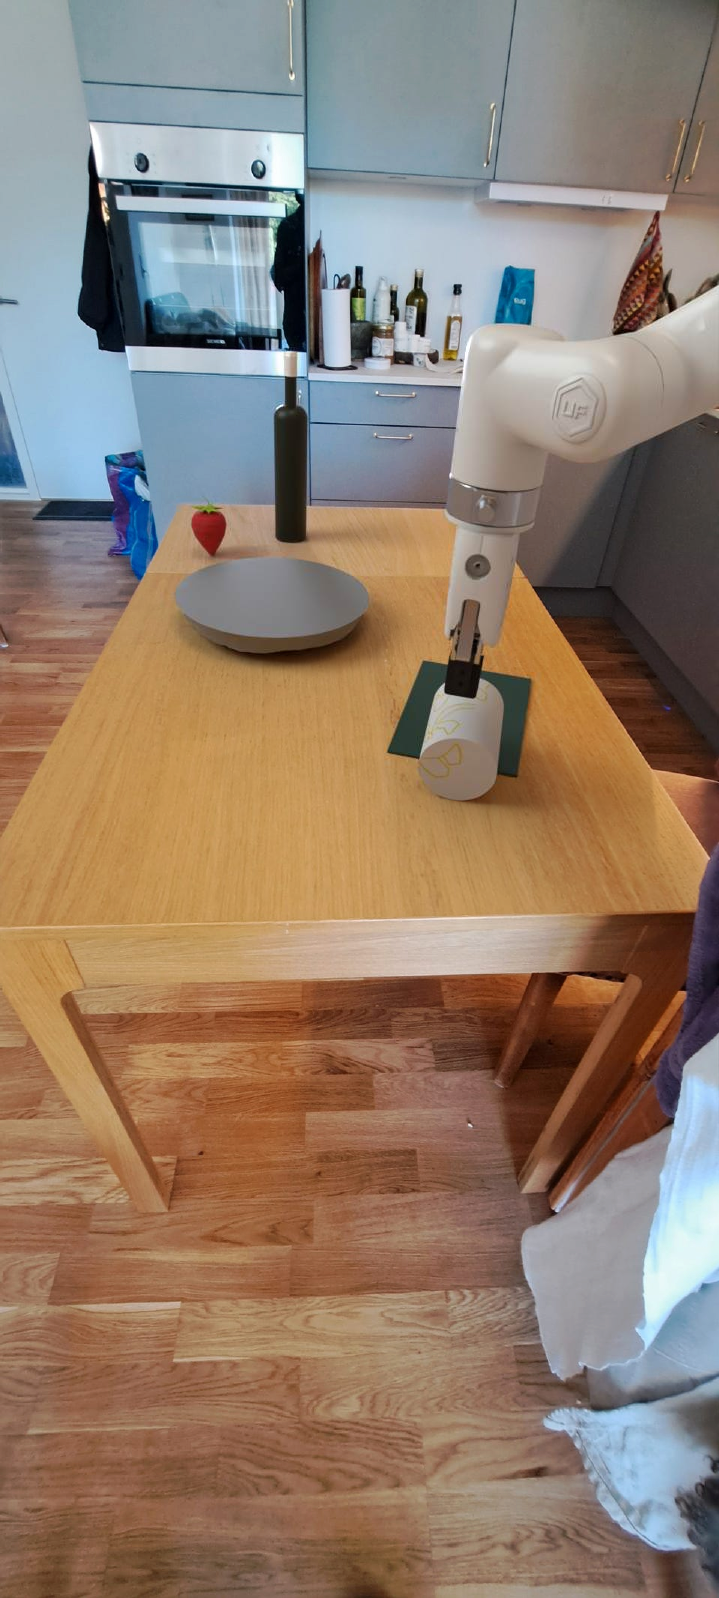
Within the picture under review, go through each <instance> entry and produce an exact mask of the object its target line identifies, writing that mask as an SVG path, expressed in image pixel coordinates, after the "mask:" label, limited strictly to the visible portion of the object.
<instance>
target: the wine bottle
mask: <svg viewBox="0 0 719 1598" xmlns="http://www.w3.org/2000/svg"><path fill="white" fill-rule="evenodd" d="M283 376H284V404H280V405H279V406H277V407H276V409H275V411H274V413H273V457H274V459H273V460H274V464H273V465H274V528H275V531H274V532H275V533H274V534H275V535H274V536H275V538H276V539H277V540H278V541H280V542H283V543H300V542H301V543H302V542H303V541H305V540H306V539H307V516H308V515H307V511H308V510H307V509H308V508H307V505H308V502H307V501H308V429H309V428H308V427H309V425H308V424H309V423H308V422H309V418H308V417H309V416H308V412H307V411H306V409H305V408H304V407H303V406H301V405H298V404H297V403H298V402H297V395H298V394H297V393H298V392H297V390H298V389H297V388H298V387H297V384H298V383H297V380H298V379H297V378H298V351H293V350H289V351H288V350H287V351H283Z"/></svg>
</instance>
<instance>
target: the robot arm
mask: <svg viewBox="0 0 719 1598" xmlns="http://www.w3.org/2000/svg"><path fill="white" fill-rule="evenodd" d="M463 362H464V363H463V370H462V376H461V386H460V392H459V393H460V394H459V401H458V408H457V417H456V423H455V424H456V425H455V433H454V439H453V440H454V441H453V449H452V451H453V452H452V458H451V466H450V473H449V482H448V487H447V494H446V495H447V497H446V504H445V510H444V511H445V513H444V517H445V518H446V520H447V521H448V522H450V523H452V525H455V526H456V532H455V538H454V545H453V553H452V559H451V560H452V561H451V567H450V573H449V574H450V575H449V582H448V589H447V600H446V610H445V619H444V630H443V631H444V632H443V635H444V637H445V638H446V639H447V641H449V642H450V641H451V640H452V644H451V650H450V653H449V655H448V656H449V657H448V661H447V664H448V666H447V673H446V680H445V687H444V693H445V694H447V695H453V696H459V697H464V698H470V699H474V698H475V697H476V695H477V691H478V687H479V681H480V676H481V670H483V664H484V659H485V655H483V651H484V646H489V648H491V649H493V648H495V647H496V646H498V645H499V643H500V639H501V635H502V631H503V627H504V623H505V617H506V612H507V608H508V603H509V597H510V592H511V588H512V583H513V578H514V577H513V576H514V572H515V567H516V563H517V562H516V561H517V556H518V549H519V543H520V535H521V533H525V532H528V531H529V530H531V529H532V528H534V525H535V522H536V515H537V511H538V505H539V501H540V498H541V497H540V495H541V491H542V486H543V481H544V476H545V472H546V471H545V470H546V467H547V462H548V457H549V454H552V455H554V456H556V457H559V458H561V459H564V460H567V461H570V462H574V463H578V464H579V463H580V464H582V463H583V464H594V463H599V462H603V461H606V460H608V459H611V458H613V457H615V456H618V455H620V454H621V453H623V452H625V451H628V450H629V449H631V448H633V447H635V446H637V445H640V444H641V443H644V442H646V441H648V440H651V439H652V438H654V437H657V436H659V435H662V434H663V433H665V432H667V431H669V430H672V429H674V428H675V427H677V426H680V425H682V424H684V423H686V422H689V421H690V420H693V419H695V418H697V417H699V416H701V415H704V414H706V413H707V412H710V411H713V410H714V409H716V408H718V407H719V284H717V285H716V286H714V287H712V288H711V289H710V290H707V291H706V292H704V293H703V294H700V295H699V296H698V297H696V298H694V299H692V300H690V301H689V302H686V303H685V304H684V305H682V306H680V307H678V308H677V309H674V310H673V311H671V312H670V313H668V314H666V315H664V316H663V317H660V318H659V319H657V320H655V321H653V322H652V323H650V324H648V325H646V326H644V327H642V328H640V329H638V330H636V331H632V332H627V333H620V334H616V335H611V336H606V337H603V338H597V339H595V338H594V339H589V340H588V339H587V340H566V338H565V337H564V336H563V334H561V333H560V332H558V331H556V330H554V329H550V328H547V327H543V326H537V325H531V324H522V323H521V324H520V323H504V322H503V323H490V324H489V323H487V324H485V325H482V326H480V327H478V328H477V329H475V330H474V331H473V333H472V334H471V335H470V337H469V339H468V341H467V345H466V349H465V355H464V361H463Z"/></svg>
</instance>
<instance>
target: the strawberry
mask: <svg viewBox="0 0 719 1598" xmlns="http://www.w3.org/2000/svg"><path fill="white" fill-rule="evenodd" d="M201 497H203V498H204V499H205V500H206V501H207V502H208V504H207V505H206V506H204V505H191V506H190V507H191V508H194V509H198V510H197V511H195V512H194V514H193V515H192V516H191V521H190V522H191V523H190V526H191V529H192V532H193V535H194V537H195V538H196V540H197V541H198V543H199V544H200V545H201V547H202V548H203V549H204V550H205V551H206V553H207V554H208V555H209V556H214V555H215V554H217V552H218V549H219V548H220V546H221V544H222V543H223V539H224V538H225V536H226V530H227V521H226V520H227V519H226V516H225V515H224V514H223V513H222V512H221V511H220V510H221V509H223V507H221V506H214V503H210V501H209V500H208V499H207V498H206V497H205V496H204V495H201Z"/></svg>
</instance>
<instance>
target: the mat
mask: <svg viewBox="0 0 719 1598" xmlns="http://www.w3.org/2000/svg"><path fill="white" fill-rule="evenodd" d="M447 666H448V663H441V662H435V661H430V660H424V659H423V660H422V662H421V664H420V668H419V669H418V672H417V675H416V677H415V680H414V682H413V684H412V688H411V690H410V692H409V695H408V697H407V699H406V703H405V705H404V707H403V710H402V713H401V715H400V717H399V720H398V723H397V725H396V728H395V730H394V733H393V735H392V738H391V741H390V742H389V745H388V748H387V751H386V753H388V754H393V755H398V756H403V757H409V758H413V759H419V758H420V754H421V750H422V746H423V742H424V738H425V733H426V729H427V725H428V721H429V717H430V713H431V708H432V704H433V700H434V697H435V694H436V692H437V691H438V689H439V688H440V687H441V686H442V685H443V684H444V683H445V680H446V673H447ZM480 678H481V679H483V680H486V681H487V682H489V683H491V684H492V685H493V686H494V687H495V688H496V689H497V690H498V691H499V693H500V694H501V697H502V699H503V703H504V711H503V721H502V730H501V739H500V749H499V758H498V767H497V775H503V776H507V777H513V778H518V774H519V768H520V760H521V753H522V747H523V739H524V734H525V733H524V731H525V725H526V717H527V710H528V704H529V697H530V691H531V684H532V683H531V682H532V678H529V677H523V676H517V675H511V674H506V673H500V672H494V671H488V670H483V669H482V670H481V676H480Z"/></svg>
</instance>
